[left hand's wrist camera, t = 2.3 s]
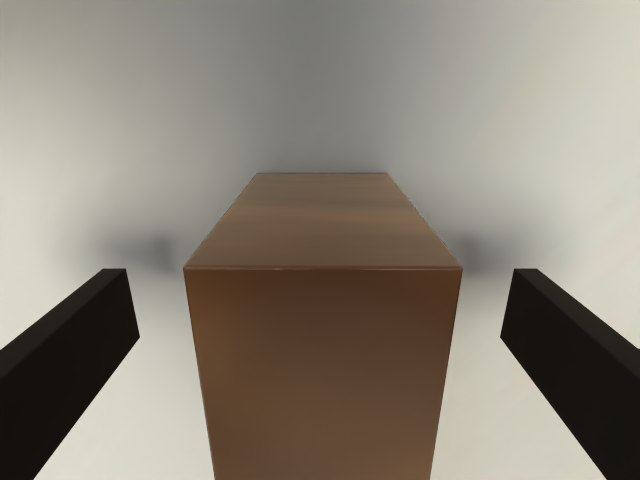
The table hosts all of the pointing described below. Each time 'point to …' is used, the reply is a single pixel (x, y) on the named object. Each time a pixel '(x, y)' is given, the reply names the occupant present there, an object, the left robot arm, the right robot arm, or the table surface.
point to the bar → (322, 330)
